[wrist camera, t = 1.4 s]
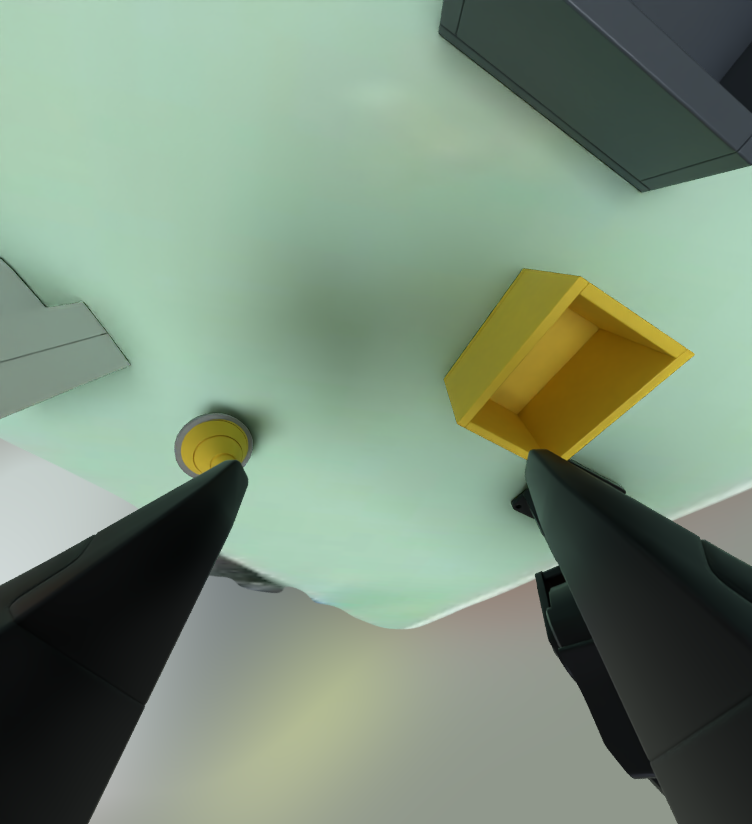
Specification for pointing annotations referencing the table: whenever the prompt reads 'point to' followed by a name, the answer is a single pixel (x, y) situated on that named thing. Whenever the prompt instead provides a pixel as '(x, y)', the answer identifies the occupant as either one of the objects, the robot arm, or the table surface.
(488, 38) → the big bin
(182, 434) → the yellow ridged cone
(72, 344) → the grey machine part
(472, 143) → the table surface
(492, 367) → the small bin
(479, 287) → the table surface
